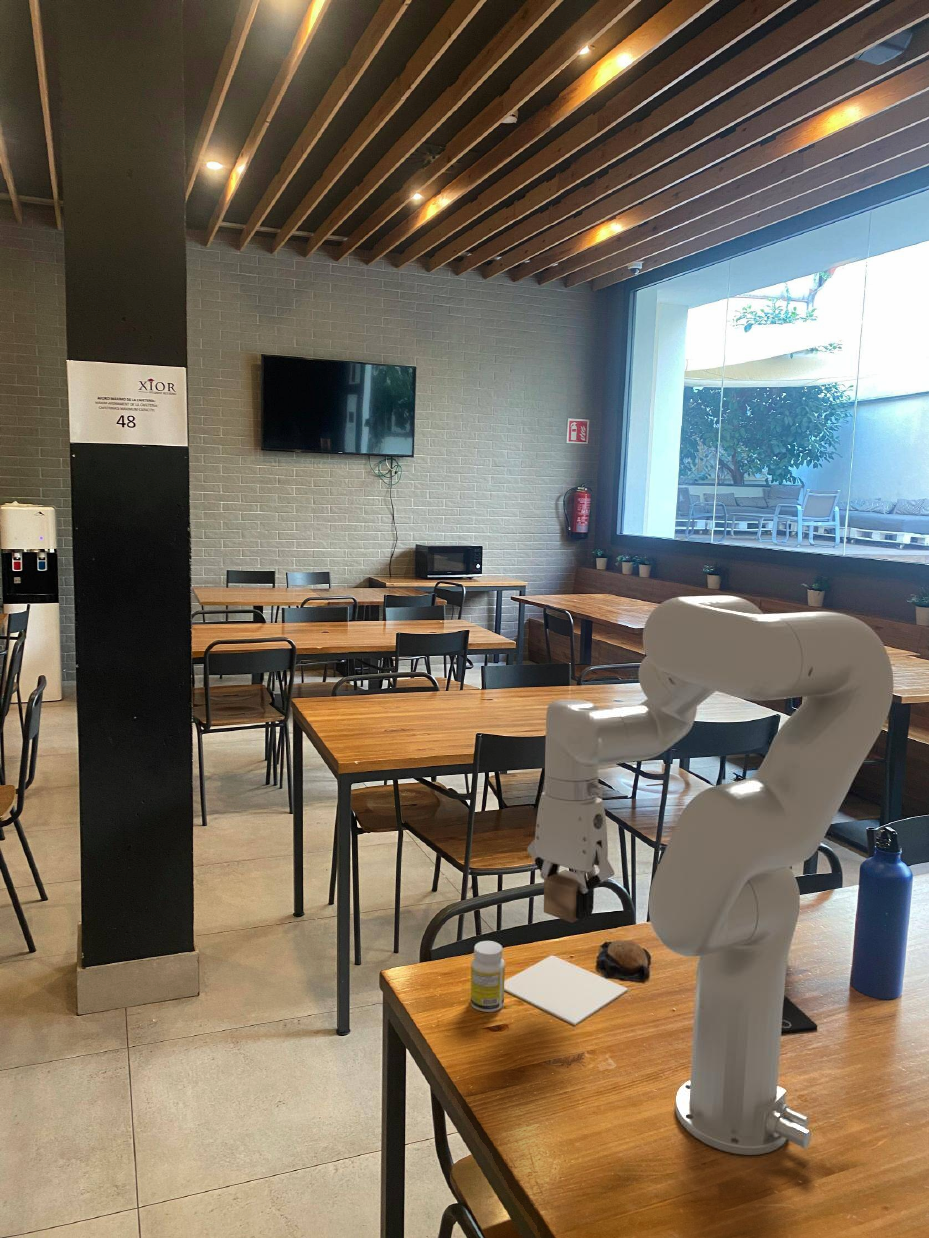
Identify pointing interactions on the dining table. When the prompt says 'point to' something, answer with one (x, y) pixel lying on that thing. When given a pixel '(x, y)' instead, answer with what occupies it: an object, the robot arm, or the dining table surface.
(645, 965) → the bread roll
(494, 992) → the supplement bottle
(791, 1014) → the cell phone
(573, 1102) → the dining table surface
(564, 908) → the walnut block
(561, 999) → the white square tile
